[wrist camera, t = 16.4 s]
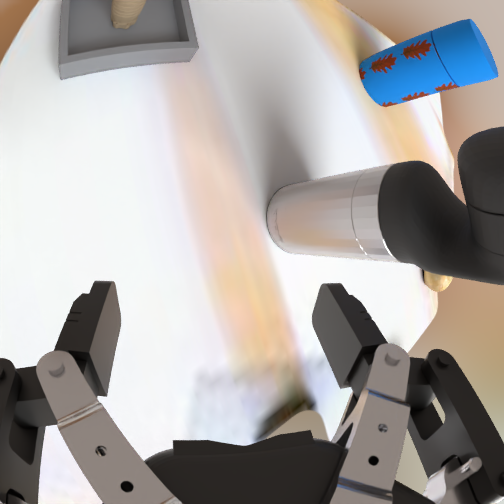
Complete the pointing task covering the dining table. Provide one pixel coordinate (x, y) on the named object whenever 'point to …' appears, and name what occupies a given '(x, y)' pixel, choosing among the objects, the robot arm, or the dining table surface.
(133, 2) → the handle
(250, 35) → the dining table surface
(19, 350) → the dining table surface
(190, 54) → the tray
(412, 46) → the thermos
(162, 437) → the dining table surface
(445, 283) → the onion
